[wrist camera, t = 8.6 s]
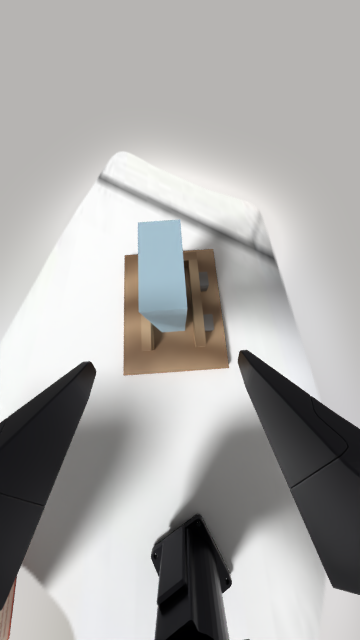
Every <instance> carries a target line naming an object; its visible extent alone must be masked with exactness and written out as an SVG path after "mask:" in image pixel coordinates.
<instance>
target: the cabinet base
mask: <svg viewBox="0 0 360 640" xmlns="http://www.w3.org/2000/svg"><path fill="white" fill-rule="evenodd" d="M183 262H184V274H185V286H186V299H187V316H186V324H185V331H174V332H161V331H160V330H159V329H158V328H156V327H155V326H154V325H153V324H152V323H151V322H150V321H148V320H147V319H146V318H145V317H144V316H143V315H142V314H140V313H139V293H138V254H137V255H125V278H124V375H138V374H152V373H166V372H180V371H193V370H207V369H221V368H229V364H228V356H227V349H226V341H225V334H224V327H223V319H222V312H221V304H220V297H219V289H218V282H217V275H216V267H215V260H214V252H213V249H205V250H192V251H183Z"/></svg>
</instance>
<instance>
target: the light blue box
mask: <svg viewBox="0 0 360 640" xmlns="http://www.w3.org/2000/svg"><path fill="white" fill-rule="evenodd" d="M138 293H139V313H140V314H142V315H143V316H144V317H145V318H146V319H147V320H148V321H150V322H151V323H152V324H153V325H154V326H155V327H156V328H158V329H159V330H160V331H161V332H174V331H185V324H186V316H187V299H186V286H185V274H184V262H183V249H182V237H181V224H180V220H168V221H154V222H140V223H138Z"/></svg>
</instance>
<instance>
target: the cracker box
mask: <svg viewBox="0 0 360 640" xmlns="http://www.w3.org/2000/svg"><path fill="white" fill-rule="evenodd" d="M16 578H17V576H16ZM15 586H16V579H15V581H14V583H13V586H12V588H11V591H10V593H9V596H8V598H7V600H6V603H5V605H4V607H3V609H2V610H1V611H0V640H8V639H9V636H10V627H11V618H12V611H13V603H14V594H15Z"/></svg>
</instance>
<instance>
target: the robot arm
mask: <svg viewBox="0 0 360 640" xmlns="http://www.w3.org/2000/svg"><path fill="white" fill-rule="evenodd" d="M238 365H239V368H240V371H241V374H242V377H243V381H244V384H245V387H246V389H247V392H248V394H249V396H250V399H251V401H252V403H253V406H254V408H255V410H256V412H257V415H258V417H259V419H260V422H261V424H262V426H263V429H264V431H265V433H266V435H267V438H268V440H269V442H270V445H271V447H272V449H273V452H274V454H275V456H276V458H277V461H278V463H279V465H280V468H281V470H282V472H283V474H284V477H285V479H286V481H287V484H288V486H289V488H290V491H291V493H292V495H293V498H294V500H295V502H296V505H297V507H298V509H299V511H300V514H301V516H302V518H303V521H304V523H305V525H306V528H307V530H308V532H309V534H310V537H311V539H312V541H313V544H314V546H315V548H316V551H317V553H318V555H319V557H320V560H321V562H322V564H323V567H324V569H325V571H326V573H327V576H328V578H329V580H330V582H331V584H332V586H333V588H336V589H340V590H343V591H347V592H350V593H354V594H358V595H360V429H359V428H358V427H356V426H354V425H353V424H351V423H350V422H348V421H347V420H345V419H344V418H342V417H341V416H339V415H338V414H336V413H335V412H333V411H332V410H330V409H329V408H328V407H326V406H325V405H323V404H322V403H320V402H319V401H318V400H316V399H315V398H313V397H312V396H311V397H310V395H309V394H308V393H306V392H305V391H304V390H302V389H301V388H299V387H298V386H297V385H295V384H294V383H293V382H291V381H290V380H288V379H287V378H286V377H284V376H283V375H281V374H280V373H279V372H277V371H276V370H274V369H273V368H272V367H270V366H269V365H268V364H266V363H265V362H263V361H262V360H261V359H259V358H258V357H256V356H255V355H254V354H252V353H251V352H249V351H248V350H241V351H240V352H239V357H238ZM95 376H96V369H95V368H94V366H93V364H92V362H90V361H88V362H82V363H81V364H79V365H78V366H77V367H75V368H74V369H73V370H71V371H70V372H69V373H67V374H66V375H64V376H63V377H62V378H60V379H59V380H58V381H56V382H55V383H54V384H52V385H51V386H50V387H48V388H47V389H45V390H44V391H43V392H41V393H40V394H39V395H37V396H36V397H35V398H33V399H32V400H31V401H29V402H28V403H27V404H25V405H24V406H22V407H21V408H20V409H18V410H17V411H16V412H14V413H13V414H12V415H10V416H9V417H8V418H6V419H5V420H3V421H2V422H1V423H0V611H1V610H2V609H3V607H4V605H5V603H6V600H7V598H8V596H9V593H10V591H11V588H12V586H13V583H14V581H15V579H16V576H17V574H18V571H19V569H20V566H21V564H22V561H23V559H24V556H25V554H26V552H27V549H28V547H29V544H30V542H31V539H32V537H33V534H34V532H35V529H36V527H37V525H38V522H39V520H40V517H41V515H42V512H43V510H44V507H45V505H46V502H47V500H48V497H49V495H50V492H51V490H52V487H53V485H54V483H55V480H56V478H57V475H58V473H59V470H60V468H61V465H62V463H63V460H64V458H65V456H66V453H67V451H68V448H69V446H70V443H71V441H72V438H73V436H74V434H75V431H76V429H77V426H78V424H79V421H80V419H81V416H82V414H83V411H84V409H85V407H86V404H87V401H88V399H89V396H90V392H91V389H92V386H93V382H94V379H95ZM198 521H199V522H200V523H197V522H198ZM155 553H156V554H157V555H156V554H155ZM151 559H152V562H153V564H154V566H155V569H156V571H157V573H158V576H159V585H158V594H157V605H158V609H157V620H156V630H155V640H229V634H228V628H227V622H226V616H225V610H224V604H223V597H222V593H224V592H225V591H226V590H227V589H228V588H230V586H231V584H232V580H231V575H230V572H229V570H228V568H227V566H226V564H225V562H224V560H223V558H222V556H221V554H220V552H219V550H218V548H217V546H216V544H215V542H214V540H213V538H212V536H211V534H210V532H209V530H208V528H207V526H206V524H205V522H204V520H203V518H202V517H201V515H196V516H194V517H193V518H192V519H190V520H189V521H188V522H186V523H185V524H184V525H182V526H181V527H180V528H178V529H177V530H176V531H174V532H173V533H172V534H170V535H169V536H167V537H166V538H165V539H163V540H162V541H161V542H159V543H158V544H157V545H155V546H154V547H153V549H152V554H151ZM246 640H250V639H246Z"/></svg>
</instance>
